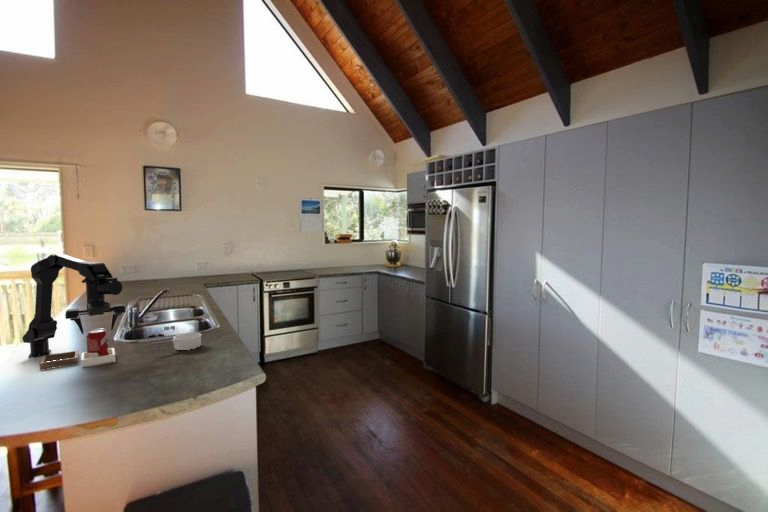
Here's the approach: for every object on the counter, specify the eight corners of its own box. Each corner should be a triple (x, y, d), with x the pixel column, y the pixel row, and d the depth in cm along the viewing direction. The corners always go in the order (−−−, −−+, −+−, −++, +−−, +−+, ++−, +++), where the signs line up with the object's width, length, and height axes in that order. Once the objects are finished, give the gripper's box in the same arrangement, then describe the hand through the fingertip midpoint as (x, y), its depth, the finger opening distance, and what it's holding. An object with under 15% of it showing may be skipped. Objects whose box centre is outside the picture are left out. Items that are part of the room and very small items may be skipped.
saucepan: (148, 352, 159) (147, 340, 159) (196, 342, 174) (195, 331, 174) (156, 359, 152) (156, 346, 151) (206, 347, 167) (206, 335, 166)
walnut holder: (43, 361, 147) (42, 355, 147) (78, 356, 154) (78, 350, 154) (40, 370, 139) (39, 363, 138) (78, 363, 145) (77, 357, 145)
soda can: (97, 363, 145) (95, 333, 144) (83, 361, 146) (81, 332, 145) (112, 357, 152) (111, 328, 151) (99, 356, 153) (98, 327, 152)
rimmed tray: (82, 359, 150) (81, 352, 150) (114, 354, 156) (114, 347, 156) (81, 367, 142) (81, 360, 141) (115, 361, 148) (115, 354, 148)
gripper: (63, 299, 135) (65, 341, 136) (125, 294, 146) (127, 332, 148) (65, 295, 144) (67, 334, 145) (123, 290, 155) (125, 326, 156)
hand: (97, 332), depth 148 cm, fingers open, 9 cm apart
